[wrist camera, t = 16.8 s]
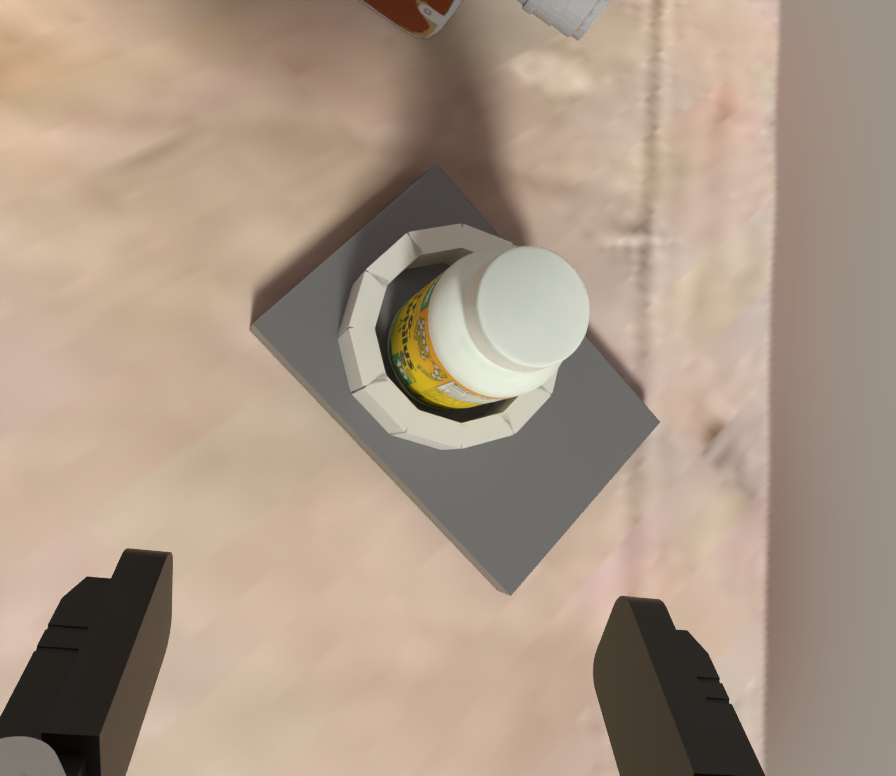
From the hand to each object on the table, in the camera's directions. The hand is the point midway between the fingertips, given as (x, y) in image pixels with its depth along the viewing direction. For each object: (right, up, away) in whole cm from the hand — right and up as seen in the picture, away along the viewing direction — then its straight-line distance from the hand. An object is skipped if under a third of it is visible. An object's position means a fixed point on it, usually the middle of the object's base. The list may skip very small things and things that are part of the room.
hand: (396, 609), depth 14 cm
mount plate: (+2, +4, +21) cm, 22 cm away
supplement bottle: (+1, +6, +20) cm, 21 cm away
